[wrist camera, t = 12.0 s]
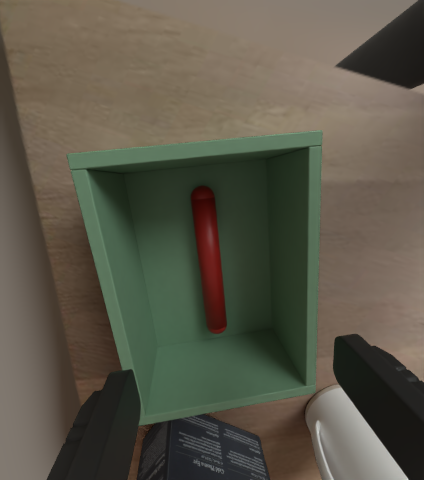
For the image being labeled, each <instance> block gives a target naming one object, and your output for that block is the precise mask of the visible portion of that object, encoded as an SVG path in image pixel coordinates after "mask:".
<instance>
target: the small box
mask: <svg viewBox="0 0 424 480" xmlns="http://www.w3.org/2000/svg"><path fill="white" fill-rule="evenodd" d="M137 480H270V477H269V473H268V470H267V466H266V462H265V459H264V455H263V450H262V447H261V441H260V438H259V436H257V435H254V434H252V433H249V432H246V431H244V430H241V429H239V428H237V427H234V426H231V425H229V424H227V423H224V422H221V421H219V420H216V419H214V418H211V417H209V416H206V415H204V414H201V415H195V416H190V417H185V418H179V419H174V420H169V421H163V422H158V423H155V425H154V426H153V427H152V428H151V430H150V431H149V432H148V434H147V435H146V436H145V438H144V439H143V444H142V450H141V456H140V462H139V468H138V475H137Z"/></svg>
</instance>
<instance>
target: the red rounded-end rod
mask: <svg viewBox="0 0 424 480" xmlns="http://www.w3.org/2000/svg"><path fill="white" fill-rule="evenodd" d="M191 206H192V214H193V222H194V229H195V237H196V245H197V253H198V261H199V269H200V277H201V285H202V293H203V301H204V308H205V316H206V324H207V328H208V330H209V331H210V332H211V333H213V334H220V333H222V332H223V331H224V330H225V329H226V327H227V316H226V306H225V296H224V286H223V276H222V265H221V255H220V245H219V235H218V224H217V214H216V204H215V195H214V192H213V191H212V189H211V188H209V187H207V186H204V185H202V186H198V187H196V188H195V189H194V190H193V191H192V193H191Z"/></svg>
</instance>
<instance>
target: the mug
mask: <svg viewBox="0 0 424 480" xmlns="http://www.w3.org/2000/svg"><path fill="white" fill-rule="evenodd" d="M305 421H306V424H307V426H308V428H309V431H310V433H311V438H312V445H313V449H314V454H315V458H316V461H317V465H318V468H319V471H320V474H321V477H322V480H409V479H408V478H407V477H406V475H405V474H404V472H403V471H402V470H401V468H400V467H399V466H398V464H397V463H396V462H395V460H394V459H393V457H392V456H391V455H390V453H389V452H388V451H387V449H386V448H385V446H384V445H383V444H382V442H381V441H380V440H379V438H378V437H377V436H376V434H375V433H374V431H373V430H372V429H371V427H370V426H369V425H368V423H367V422H366V421H365V419H364V418H363V416H362V415H361V414H360V412H359V411H358V410H357V408H356V407H355V406H354V404H353V403H352V401H351V400H350V399H349V397H348V396H347V395H346V393H345V392H344V391H343V389H342V388H341V386H340V385H339V384H338V385H332V386H329V387H327V388H324V389H323V390H321V391H319V392H318V393H317V394H316V395H315V396H314V397H312V398H311V400H310V401H309V403H308V404H307V407H306V410H305Z"/></svg>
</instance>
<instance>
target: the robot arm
mask: <svg viewBox="0 0 424 480" xmlns="http://www.w3.org/2000/svg"><path fill="white" fill-rule="evenodd" d="M333 370H334V374H335V377H336V380H337V382H338V383H339V385H340V386H341V388H342V389H343V391H344V392H345V393H346V395H347V396H348V397H349V399H350V400H351V401H352V403H353V404H354V406H355V407H356V408H357V410H358V411H359V412H360V414H361V415H362V416H363V418H364V419H365V421H366V422H367V423H368V425H369V426H370V427H371V429H372V430H373V431H374V433H375V434H376V436H377V437H378V438H379V440H380V441H381V442H382V444H383V445H384V446H385V448H386V449H387V451H388V452H389V453H390V455H391V456H392V457H393V459H394V460H395V462H396V463H397V464H398V466H399V467H400V468H401V470H402V471H403V472H404V474H405V475H406V477H407V478H408V479H409V480H424V382H422V381H419V379H418V377H417V376H415V375H414V374H413V373H412V372H411V371H410V370H407V369H406V367H405V366H404V365H403V364H402V363H400V362H399V361H398V360H397V359H396V358H395V357H393V356H392V355H391V354H389V353H387V352H385V351H384V350H382V349H380V348H378V347H376V346H371V345H369V344H368V343H367V342H366V341H365V340H364V339H363V338H362V337H361V336H359V335H358V334H351V335H344V336H338V337H336V338H335V342H334V360H333ZM140 415H141V401H140V396H139V392H138V388H137V384H136V380H135V376H134V372H133V370H132V369H128V370H122V371H116V372H111V373H110V374H109V375H108V377H107V380H106V382H105V384H104V387H103V389H102V390H100V391H94V392H93V393H92V395H91V396H90V397H89V398H88V399H87V401H86V402H85V403H84V404H83V405H82V407H81V409H80V411H79V413H78V415H77V417H76V419H75V421H74V423H73V428H71V430H70V432H69V434H68V436H67V438H66V442H65V444H63V446H62V448H61V451H60V453H59V455H58V457H57V459H56V461H55V464H54V465H53V467H52V469H51V472H50V474H49V476H48V478H47V480H127V479H128V475H129V470H130V465H131V460H132V455H133V450H134V446H135V441H136V436H137V431H138V426H139V421H140Z"/></svg>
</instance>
